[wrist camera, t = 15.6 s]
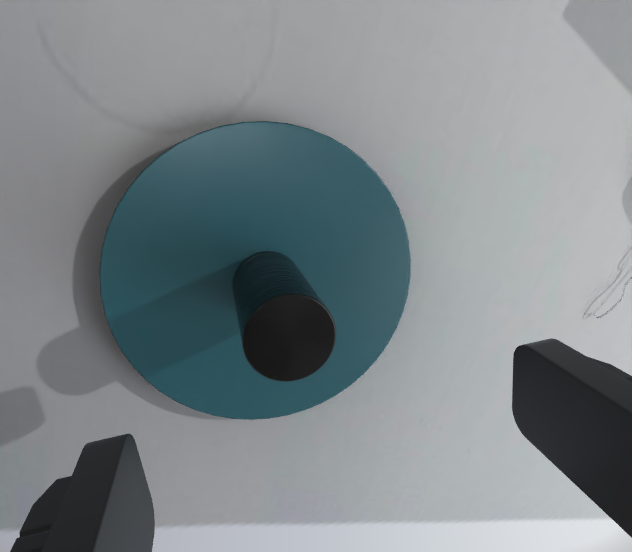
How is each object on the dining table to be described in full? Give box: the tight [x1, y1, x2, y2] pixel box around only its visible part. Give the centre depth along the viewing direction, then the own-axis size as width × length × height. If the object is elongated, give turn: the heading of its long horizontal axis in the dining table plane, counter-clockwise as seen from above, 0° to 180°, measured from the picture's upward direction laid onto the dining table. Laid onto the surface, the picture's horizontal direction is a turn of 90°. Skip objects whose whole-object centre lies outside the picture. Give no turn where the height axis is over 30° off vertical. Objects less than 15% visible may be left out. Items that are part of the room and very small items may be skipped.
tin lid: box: [100, 121, 411, 419], centre depth 17 cm, size 13×13×7 cm
